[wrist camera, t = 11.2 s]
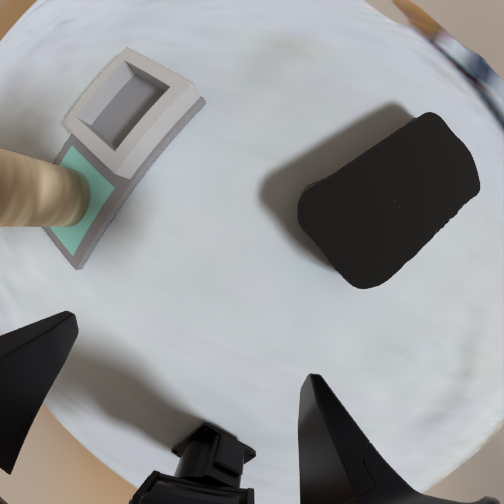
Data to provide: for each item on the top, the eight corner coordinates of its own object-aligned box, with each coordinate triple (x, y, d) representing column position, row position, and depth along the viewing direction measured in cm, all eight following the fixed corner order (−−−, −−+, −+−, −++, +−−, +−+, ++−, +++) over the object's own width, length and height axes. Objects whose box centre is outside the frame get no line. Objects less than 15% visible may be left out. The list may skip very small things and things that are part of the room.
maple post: (78, 235, 20) (-35, 240, 8) (46, 214, 20) (-55, 210, 8) (98, 181, 19) (-14, 149, 7) (64, 164, 19) (-35, 134, 7)
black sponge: (343, 293, 21) (359, 304, 17) (284, 204, 20) (288, 198, 17) (464, 189, 20) (487, 184, 16) (419, 114, 19) (438, 99, 16)
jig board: (82, 268, 21) (58, 273, 18) (35, 209, 21) (12, 207, 17) (206, 103, 20) (196, 83, 16) (139, 63, 20) (125, 45, 16)
